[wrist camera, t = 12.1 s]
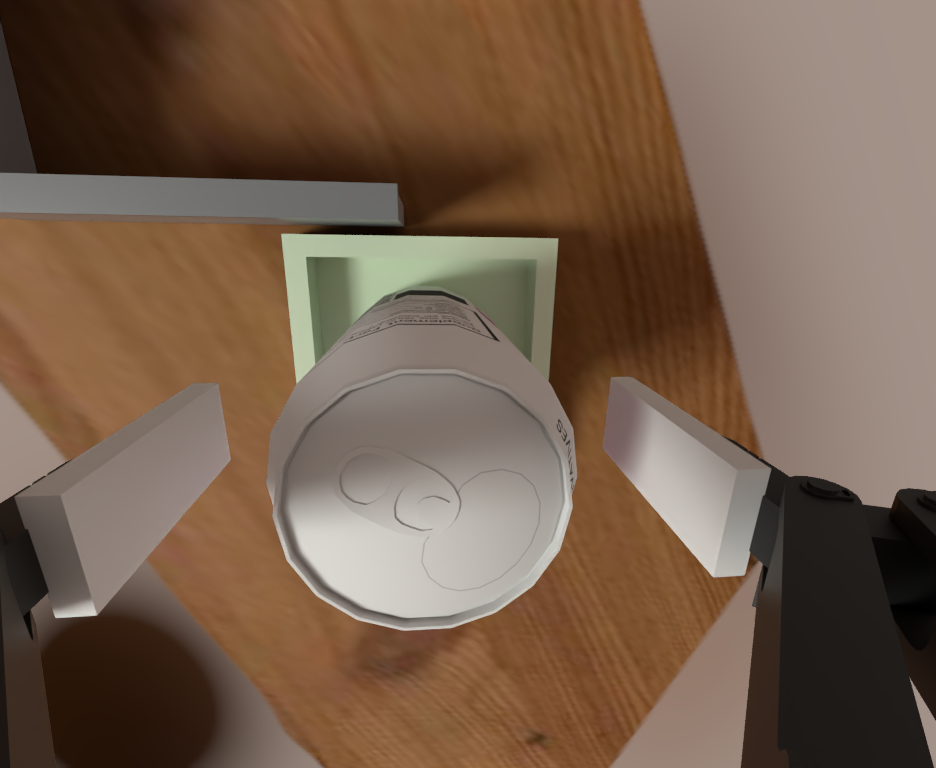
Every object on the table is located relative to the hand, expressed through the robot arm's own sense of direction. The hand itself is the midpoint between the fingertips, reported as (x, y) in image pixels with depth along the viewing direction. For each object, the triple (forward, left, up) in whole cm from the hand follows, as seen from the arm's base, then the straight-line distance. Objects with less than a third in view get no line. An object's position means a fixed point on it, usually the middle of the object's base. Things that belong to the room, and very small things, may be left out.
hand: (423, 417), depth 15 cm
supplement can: (0, 0, -10) cm, 10 cm away
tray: (0, 0, -10) cm, 10 cm away
